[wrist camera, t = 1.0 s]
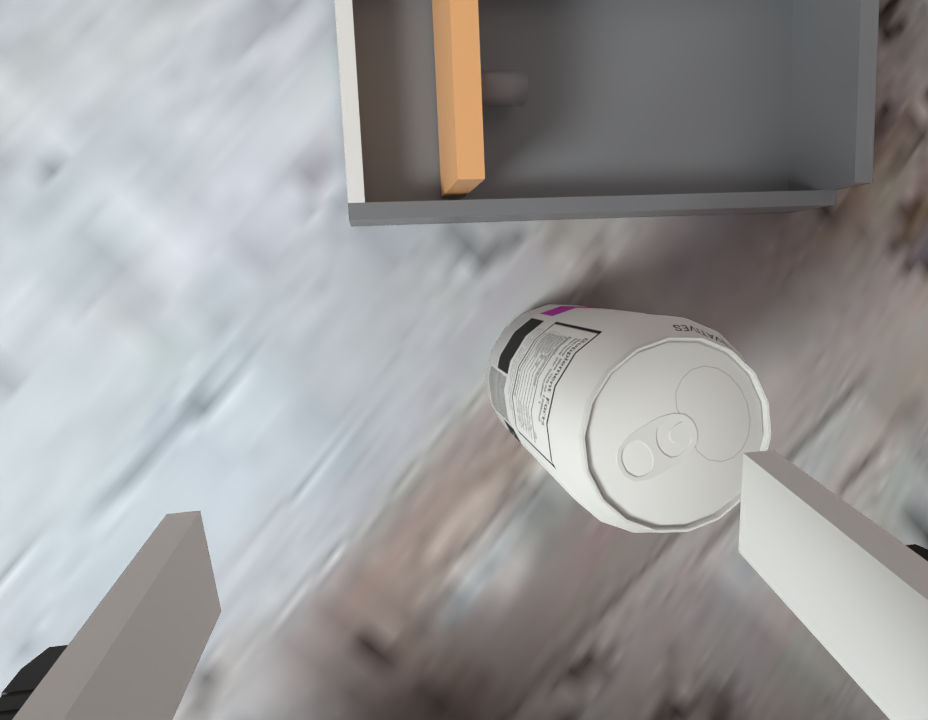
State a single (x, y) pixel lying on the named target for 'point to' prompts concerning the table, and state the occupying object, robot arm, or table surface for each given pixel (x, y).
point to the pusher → (465, 94)
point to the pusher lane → (616, 108)
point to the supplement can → (631, 412)
